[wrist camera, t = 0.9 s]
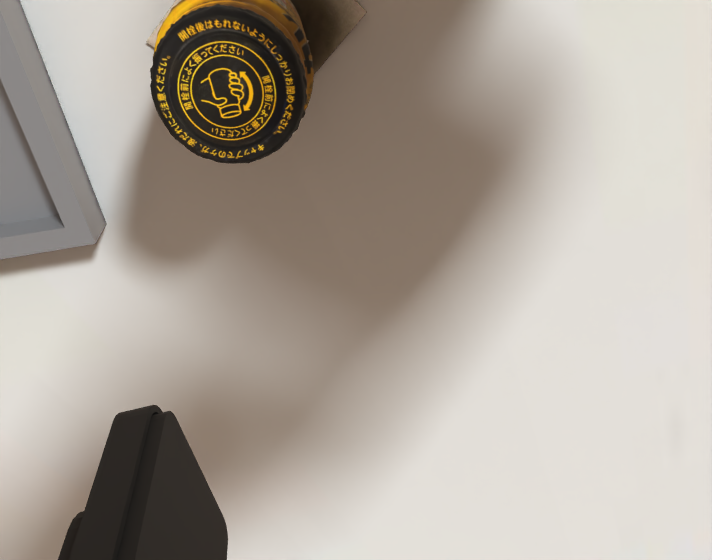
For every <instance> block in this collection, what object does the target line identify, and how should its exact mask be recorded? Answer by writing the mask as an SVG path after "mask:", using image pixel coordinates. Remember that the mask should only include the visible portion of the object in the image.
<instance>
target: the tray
mask: <svg viewBox="0 0 712 560" xmlns="http://www.w3.org/2000/svg"><path fill="white" fill-rule="evenodd" d="M105 226H106V221H105V219H104V216H103V214H102V211H101V209H100V206H99V203H98V201H97V198H96V196H95V193H94V191H93V188H92V185H91V183H90V180H89V178H88V175H87V173H86V170H85V167H84V165H83V162H82V160H81V157H80V155H79V152H78V149H77V147H76V144H75V142H74V139H73V137H72V134H71V131H70V129H69V126H68V124H67V121H66V119H65V116H64V113H63V111H62V108H61V106H60V103H59V101H58V98H57V95H56V93H55V90H54V88H53V85H52V83H51V80H50V77H49V75H48V72H47V70H46V67H45V65H44V62H43V59H42V57H41V54H40V52H39V49H38V47H37V44H36V41H35V39H34V36H33V34H32V31H31V29H30V26H29V23H28V21H27V18H26V16H25V13H24V11H23V8H22V5H21V3H20V0H0V259H6V258H12V257H19V256H25V255H31V254H37V253H43V252H49V251H55V250H61V249H67V248H73V247H79V246H85V245H91V244H96V242H97V240H98V238H99V237H100V235H101V233H102V231H103V229H104V228H105Z"/></svg>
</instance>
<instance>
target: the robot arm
mask: <svg viewBox="0 0 712 560" xmlns="http://www.w3.org/2000/svg"><path fill="white" fill-rule="evenodd" d="M227 546H228V535H227V527H226V523H225V520H224V517H223V515H222V513H221V511H220V509H219V507H218V504H217V502H216V500H215V498H214V496H213V494H212V492H211V490H210V488H209V486H208V484H207V482H206V479H205V477H204V475H203V473H202V471H201V469H200V467H199V465H198V463H197V461H196V459H195V457H194V454H193V452H192V450H191V448H190V446H189V444H188V442H187V440H186V438H185V436H184V434H183V432H182V429H181V427H180V425H179V423H178V421H177V419H176V417H175V415H174V414H173V413H172V412H171V411H168V412H162V411H161V409H160V408H159V407H158V406H157V405H151V406H147V407H143V408H138V409H134V410H130V411H125V412H121V413H118V414H117V415H116V416H115V418H114V420H113V423H112V426H111V430H110V433H109V436H108V439H107V442H106V445H105V448H104V451H103V455H102V458H101V461H100V464H99V467H98V470H97V473H96V476H95V480H94V483H93V486H92V489H91V492H90V495H89V498H88V501H87V505H86V508H85V511H83V512H80V513H78V514H77V516H76V517H75V518H74V519H73V520H72V523H71V525H70V527H69V529H68V532H67V535H66V537H65V540H64V543H63V546H62V549H61V552H60V555H59V558H58V560H227Z"/></svg>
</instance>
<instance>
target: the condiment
mask: <svg viewBox="0 0 712 560" xmlns="http://www.w3.org/2000/svg"><path fill="white" fill-rule="evenodd" d="M366 13H367V12H366V11H365V10H364V8H363V7H362V6H361V5H360V4H359V3H358V2H357V1H355V0H176V1H175V2H174V4H173V5H172V6H171V8H170V9H169V11H168V12H167V13H166V15H165V16H164V18H163V19H162V20H161V22H160V23H159V25H158V26H157V27H156V29H155V30H154V32H153V33H152V34H151V36H150V37H149V38H148V40H147V41H146V42H147V43H148V44H150V45H151V46H152V47H154V48H155V49H154V55H153V66H152V68H151V69H150V72H151V79H152V81H151V85H150V87H151V94H152V98H153V101H154V104H155V107H156V110H157V112H158V114H159V116H160V118H161V120H162V121H163V123H164V124H165V126H166V127H167V129H168V130H169V132H170V134H171V135H172V136H173V137H174V138H175V139H176V140H178V141H179V142H180V143H181V144H183V145H184V146H185V147H186V148H187V149H189V150H190V151H191V152H193V153H195V154H196V155H198V156H201V157H203V158H207V159H211V160H214V161H216V162H220V163H250V162H253V161H256V160H259V159H262V158H264V157H266V156H268V155H270V154H272V153H273V152H275V151H277V150H278V149H280V148H281V147H282V146H283V145H284V144H285V143H286V142H287V141H288V140H289V139H290V138H291V136H292V133H293V132H294V131H296V130H297V129H298V126H299V123H300V120H301V118H303V117H304V115H305V109H306V108H307V106H308V103H309V100H310V97H311V92H312V87H313V77H314V74H315V72H316V71H317V70H318V69H319V68H320V67H321V66H322V65H323V63H324V62H325V61H326V60H327V58H328V57H329V56H330V55H331V54H332V53H333V52H334V50H335V49H336V48H337V46H338V45H339V44H340V43H341V42H342V41H343V39H344V38H345V37H346V36H347V35H348V34H349V33H350V31H351V30H352V29H353V28H354V27H355V26H356V25H357V23H358V22H359V21H360V20H361V19H362V17H363V16H364V15H365V14H366ZM307 40H309V42H307Z"/></svg>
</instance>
